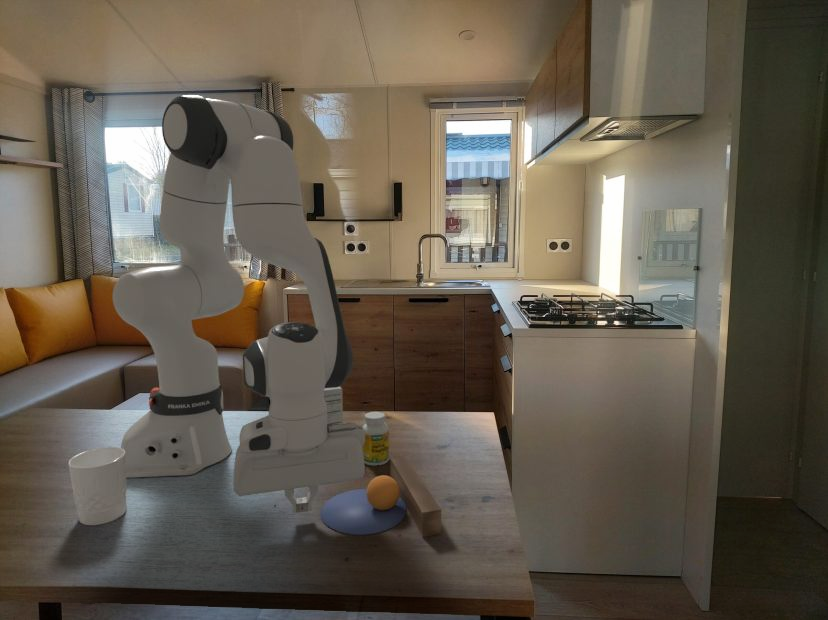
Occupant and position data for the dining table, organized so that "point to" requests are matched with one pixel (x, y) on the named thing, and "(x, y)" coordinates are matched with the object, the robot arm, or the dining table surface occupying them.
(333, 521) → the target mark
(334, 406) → the supplement box
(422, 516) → the rail
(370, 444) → the supplement bottle
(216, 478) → the dining table surface
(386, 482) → the ball
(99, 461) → the white cup
